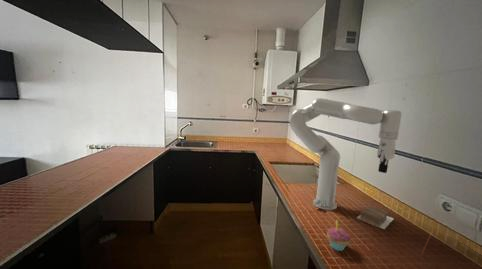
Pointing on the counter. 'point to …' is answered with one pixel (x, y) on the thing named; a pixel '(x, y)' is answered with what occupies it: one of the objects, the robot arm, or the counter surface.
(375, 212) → the slab
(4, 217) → the counter surface
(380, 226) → the mat
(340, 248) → the cupcake
